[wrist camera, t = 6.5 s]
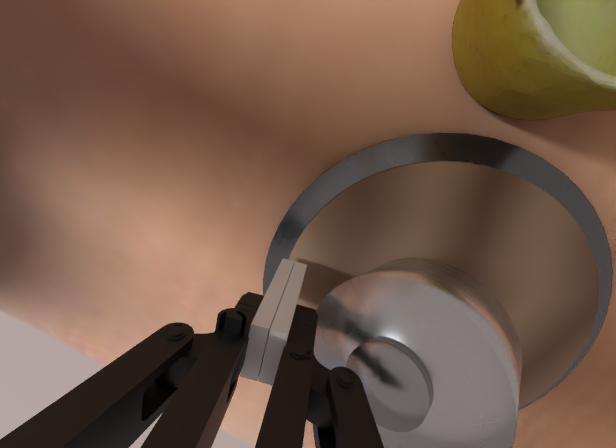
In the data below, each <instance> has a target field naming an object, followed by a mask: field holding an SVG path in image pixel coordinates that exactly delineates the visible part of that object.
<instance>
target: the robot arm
mask: <svg viewBox="0 0 616 448" xmlns="http://www.w3.org/2000/svg"><path fill="white" fill-rule="evenodd" d="M294 262H295V261H291V260H288V259H284V258H283V259H282V261H281V263H280V265H279V267H278V269H277V271H276V273H275V275H274V277H273V279H272V282H271V284H270V286H269V288H268V290H267V292H266V294H265V296H262V295H258V294H255V293H251V292H248V293H246V294H245V295H243V296H242V297H241V298H240V300H239V302H238V303H237V305H236V306H235V308H230V309H225V310H222V311H221V312H220V313H219V314H218V318H217V324H216V330H215V332H213V333H209V334H194V331H193V329H192V327H191V326H189V325H188V324H185V323H171V324H168V325H166V326H164V327H162V328H160V329H159V330H158V331H156V332H155V333H153V334H152V335H150V336H149V337H148V338H146V339H145V340H143V341H142V342H140V343H139V344H137V345H136V346H135V347H133V348H132V349H130V350H129V351H127V352H126V353H124V354H123V355H122V356H120V357H119V358H117V359H116V360H114V361H113V362H111V363H110V364H109V365H107V366H106V367H104V368H103V369H101V370H100V371H99V372H97V373H96V374H94V375H93V376H91V377H90V378H88V379H87V380H85V381H84V382H83V383H81V384H80V385H78V386H77V387H75V388H74V389H73V390H71V391H70V392H68V393H67V394H65V395H64V396H62V397H61V398H60V399H58V400H57V401H55V402H54V403H52V404H51V405H49V406H48V407H47V408H45V409H44V410H42V411H41V412H39V413H38V414H36V415H35V416H34V417H32V418H31V419H29V420H28V421H26V422H25V423H23V424H22V425H21V426H19V427H18V428H16V429H15V430H14V431H12V432H11V433H9V434H8V435H6V436H5V437H3V438H2V439H1V440H0V448H129V447H130V446H131V445H132V444H133V443H134V441H135V440H136V439H137V438H138V437H139V436H140V435H141V434H142V433H143V432H144V431H145V430H146V429H147V428H148V427H149V426H150V425H151V424H152V423H153V422H154V421H155V420H156V419H157V418H158V417H159V416H160V414H162V415H161V417H160V418H159V420H158V421H157V423H156V424H155V426H154V428H153V429H152V431H151V432H150V434H149V435H148V437H147V439H146V440H145V442H144V443H143V445H142V446H141V448H211V446H212V444H213V442H214V439H215V437H216V434H217V432H218V430H219V427H220V425H221V422H222V420H223V418H224V415H225V413H226V410H227V408H228V406H229V403H230V401H231V398H232V396H233V393H234V391H235V389H236V386H237V381H238V377H239V374H240V372H241V375H240V376H241V377H245V378H249V379H252V380H256V381H257V380H258V381H259V382H263V383H266V384H270V385H273V387H272V390H271V394H270V397H269V401H268V404H267V408H266V411H265V415H264V418H263V422H262V425H261V429H260V432H259V436H258V439H257V443H256V446H255V448H302V445H303V438H304V430H305V423H306V419H307V420H308V421H310V422H311V423H313V431H314V439H315V447H316V448H384V446H383V443H382V440H381V437H380V434H379V431H378V428H377V425H376V422H375V419H374V416H373V413H372V410H371V407H370V405H369V402H368V399H367V396H366V393H365V390H364V387H363V384H362V381H361V379H360V377H359V376H358V375H357V374H356V373H355V372H354V371H353V370H351V369H349V368H346V367H342V366H340V367H335V368H333V369H332V370H330V369H328V368H326V367H325V366H323V365H322V364H320V363H319V362H318V361H317V359H316V357H315V355H314V343H315V336H316V328H317V321H318V315H317V312H316V310H315V309H313V308H309V307H305V306H302V305H298V304H297V302H298V298H299V294H300V291H301V287H302V283H303V279H304V275H305V271H306V267H307V265H306V264H303V263H299V262H295V263H294ZM259 374H260V375H259ZM258 377H259V379H258Z"/></svg>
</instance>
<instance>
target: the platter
mask: <svg viewBox="0 0 616 448" xmlns="http://www.w3.org/2000/svg"><path fill="white" fill-rule="evenodd" d="M410 257H417V258H428V259H434V260H437V261H441V262H444V263H447V264H450V265H452V266H454V267H457V268H459V269H461V270H462V271H464V272H466V273H468V274H469V275H471V276H472V277H474V278H475V279H477V280H478V281H479V282H481V283H482V284H483V285H484V286H485V287H486V288H487V289H489V290H490V291H491V292H492V294H493V295H494V296H495V297H496V298H497V299H498V300H499V301H500V303H501V304H502V306H503V307H504V308H505V310H506V311H507V313H508V314H509V316H510V318H511V320H512V322H513V324H514V326H515V329H516V331H517V334H518V337H519V341H520V345H521V350H522V372H521V383H520V394H519V405H518V408H520V407H522V406H524V405H526V404H527V403H529V402H531V401H532V400H534V399H535V398H537V397H539V396H540V395H541V394H542V393H544V392H545V391H546V390H548V389H549V388H550V387H551V386H553V385H554V384H555V383H556V382H557V381H558V380H559V379H560V378H561V377H562V376H563V375H564V374H565V373H566V372H567V371H568V369H569V368H570V367H571V365H572V364H573V363H574V361H575V360H576V359H577V358H578V356H579V354H580V353H581V351H582V349H583V347H584V346H585V344H586V342H587V340H588V338H589V335H590V333H591V330H592V327H593V325H594V322H595V317H596V313H597V308H598V301H599V279H598V271H597V265H596V262H595V259H594V255H593V252H592V249H591V246H590V244H589V242H588V240H587V238H586V236H585V235H584V233H583V231H582V229H581V228H580V226H579V225H578V224H577V222H576V221H575V220H574V218H573V217H572V216H571V214H570V213H569V212H568V211H567V210H566V209H565V208H564V207H563V206H562V205H561V204H560V203H559V202H558V201H557V200H556V199H555V198H554V197H552V196H551V195H549V194H548V193H546V192H545V191H543V190H542V189H541V188H539V187H538V186H536V185H535V184H533V183H531V182H529V181H526V180H524V179H522V178H520V177H518V176H516V175H514V174H511V173H508V172H505V171H502V170H499V169H496V168H493V167H489V166H484V165H478V164H473V163H467V162H460V161H427V162H416V163H411V164H406V165H401V166H396V167H393V168H390V169H387V170H384V171H381V172H378V173H375V174H373V175H371V176H369V177H366V178H364V179H362V180H360V181H358V182H356V183H354V184H353V185H351V186H350V187H348V188H347V189H345V190H344V191H342V192H340V193H339V194H337V195H336V196H335V197H334V198H333V199H331V200H330V201H329V202H328V203H327V204H326V205H324V206H323V207H322V208H321V209H320V210H319V212H318V213H317V214H316V215H315V216H314V217H313V218H312V219H311V220H310V222H309V223H308V224H307V226H306V227H305V229H304V230H303V232H302V233H301V235H300V236H299V238H298V240H297V242H296V244H295V246H294V248H293V250H292V252H291V255H290V257H289V259H288V260H291V261H295V262H299V263H303V264H306V265H307V267H306V271H305V275H304V279H303V283H302V287H301V291H300V294H299V298H298V302H297V304H298V305H302V306H305V307H309V308H313V309H315V310H317V308H318V307H319V305H320V304H321V302H322V300H323V299H324V298H325V297H326V296H327V295H328V294H329V293H330V292H331V291H332V290H333V289H334V288H336V287H337V286H339V285H341V284H342V283H344V282H346V281H348V280H350V279H353V278H355V277H357V276H359V275H361V274H363V273H365V272H367V271H370V270H372V269H374V268H376V267H378V266H380V265H382V264H385V263H387V262H390V261H392V260H397V259H401V258H410ZM295 262H294V263H295Z"/></svg>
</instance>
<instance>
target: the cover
mask: <svg viewBox="0 0 616 448" xmlns="http://www.w3.org/2000/svg"><path fill="white" fill-rule="evenodd" d="M316 312H317V315H318V321H317V328H316V336H315V343H314V355H315V357H316V359H317V361H318V362H319V363H320V364H322V365H323V366H325V367H326V368H328V369H330V370H332V369H333V368H335V367H340V366H342V367H346V368H349V369H351V370H353V371H354V372H355V373H356V374H357V375H358V376H359V377H360V379H361V381H362V384H363V387H364V390H365V393H366V396H367V399H368V402H369V405H370V407H371V410H372V413H373V416H374V419H375V422H376V425H377V428H378V431H379V434H380V437H381V440H382V443H383V446H384V448H512V446H513V443H514V440H515V434H516V426H517V416H518V405H519V394H520V383H521V372H522V350H521V345H520V341H519V337H518V334H517V331H516V329H515V326H514V324H513V322H512V320H511V318H510V316H509V314H508V313H507V311H506V310H505V308H504V307H503V306H502V304H501V303H500V301H499V300H498V299H497V298H496V297H495V296H494V295H493V294H492V292H491V291H490V290H489V289H487V288H486V287H485V286H484V285H483V284H482V283H481V282H479V281H478V280H477V279H475V278H474V277H472V276H471V275H469V274H468V273H466V272H464V271H462V270H461V269H459V268H457V267H454V266H452V265H450V264H447V263H444V262H441V261H437V260H434V259H428V258H417V257H410V258H401V259H397V260H392V261H390V262H387V263H385V264H382V265H380V266H378V267H376V268H374V269H372V270H370V271H367V272H365V273H363V274H361V275H359V276H357V277H355V278H353V279H350V280H348V281H346V282H344V283H342V284H341V285H339V286H337V287H336V288H334V289H333V290H332V291H331V292H330V293H329V294H328V295H327V296H326V297H325V298H324V299H323V300H322V302H321V304H320V305H319V307H318V308H317V310H316Z"/></svg>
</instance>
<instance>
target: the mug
mask: <svg viewBox="0 0 616 448" xmlns="http://www.w3.org/2000/svg"><path fill="white" fill-rule="evenodd" d="M452 49H453V56H454V62H455V67H456V69H457V72H458V75H459V78H460V80H461V83H462V84H463V86H464V88H465V89H466V91H467V92H468V93H469V94H470V95H471V96H472V97H473V98H474V99H475V100H476V101H477V102H478V103H479V104H481V105H482V106H484V107H485V108H487V109H489V110H491V111H493V112H495V113H497V114H500V115H502V116H506V117H510V118H515V119H522V120H539V119H548V118H554V117H559V116H565V115H569V114H574V113H579V112H588V111H606V110H616V0H461V1H460V3H459V5H458V8H457V11H456V15H455V19H454V22H453V29H452Z"/></svg>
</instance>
